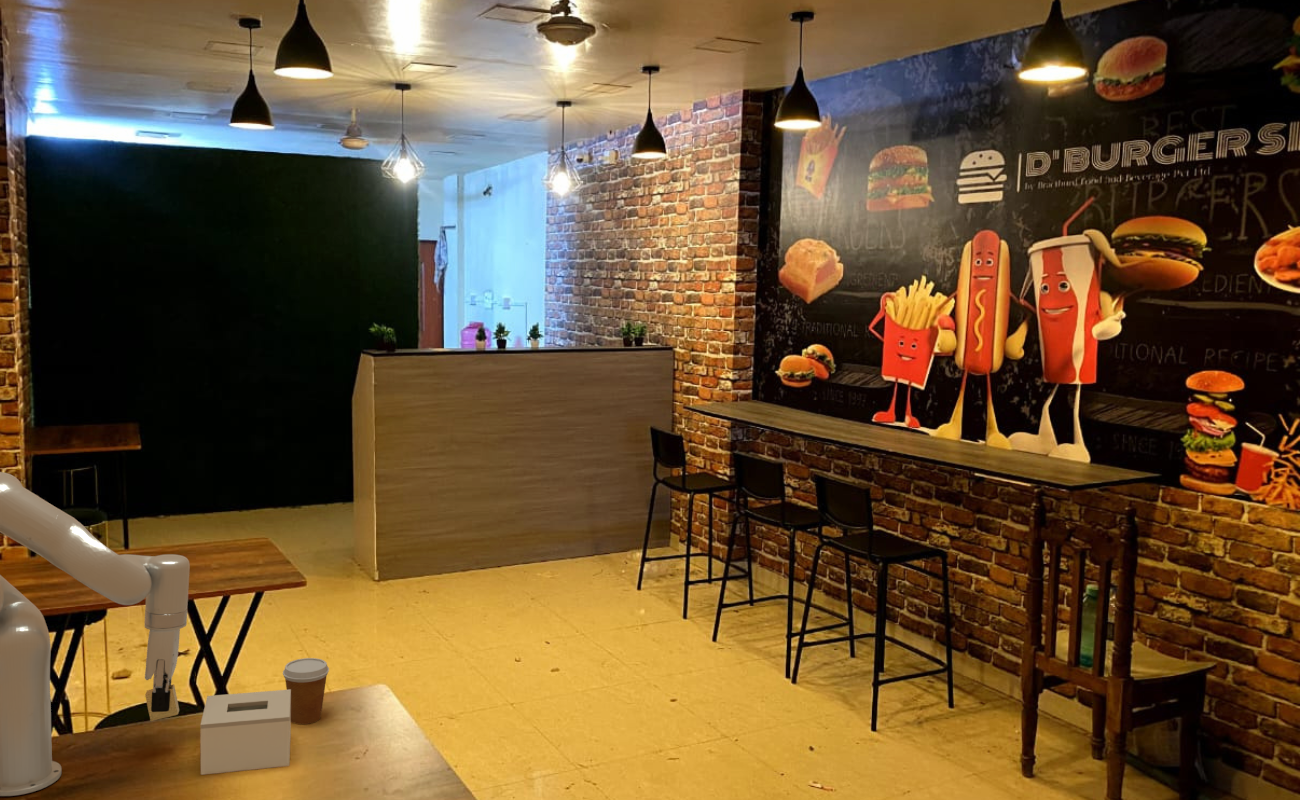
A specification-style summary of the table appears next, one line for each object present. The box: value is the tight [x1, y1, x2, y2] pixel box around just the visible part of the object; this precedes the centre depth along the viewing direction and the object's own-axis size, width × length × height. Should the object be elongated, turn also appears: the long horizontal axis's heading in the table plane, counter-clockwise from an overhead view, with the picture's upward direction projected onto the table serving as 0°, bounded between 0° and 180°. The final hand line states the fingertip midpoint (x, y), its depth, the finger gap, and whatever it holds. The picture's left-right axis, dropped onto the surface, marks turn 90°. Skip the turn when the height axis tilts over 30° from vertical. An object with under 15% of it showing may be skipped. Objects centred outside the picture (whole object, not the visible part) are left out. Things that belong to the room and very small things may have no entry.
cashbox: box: [200, 689, 292, 775], centre depth 204 cm, size 16×14×10 cm
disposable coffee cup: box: [282, 657, 330, 725], centre depth 222 cm, size 10×10×12 cm
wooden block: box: [144, 684, 180, 722], centre depth 203 cm, size 5×2×6 cm, turn 108°
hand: (161, 707), depth 203 cm, fingers closed on wooden block, 2 cm apart
